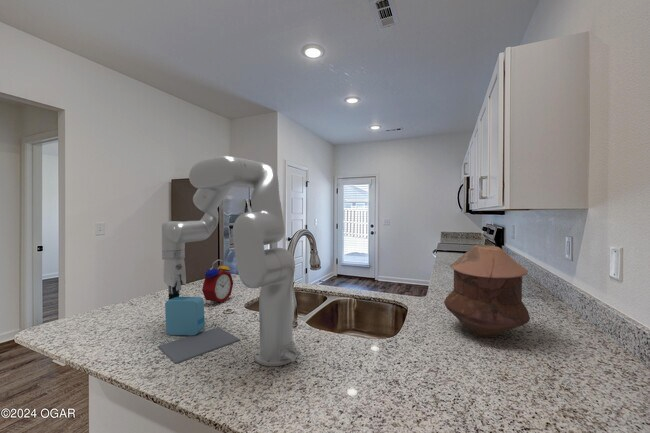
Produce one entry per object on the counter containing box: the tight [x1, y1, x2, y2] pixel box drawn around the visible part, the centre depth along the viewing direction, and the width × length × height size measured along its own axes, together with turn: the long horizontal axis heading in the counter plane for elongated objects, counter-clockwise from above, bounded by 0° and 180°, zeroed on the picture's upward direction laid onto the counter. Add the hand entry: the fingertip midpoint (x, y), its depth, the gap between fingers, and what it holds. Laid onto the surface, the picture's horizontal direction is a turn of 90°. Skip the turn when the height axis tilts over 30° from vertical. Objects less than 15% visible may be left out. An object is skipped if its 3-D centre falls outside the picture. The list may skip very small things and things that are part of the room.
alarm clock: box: [201, 259, 234, 306], centre depth 137 cm, size 15×9×20 cm, turn 162°
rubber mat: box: [157, 326, 241, 365], centre depth 94 cm, size 15×20×1 cm
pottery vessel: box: [443, 244, 531, 338], centre depth 101 cm, size 26×26×30 cm
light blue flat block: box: [164, 296, 206, 336], centre depth 102 cm, size 12×4×12 cm, turn 81°
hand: (174, 303), depth 108 cm, fingers closed
